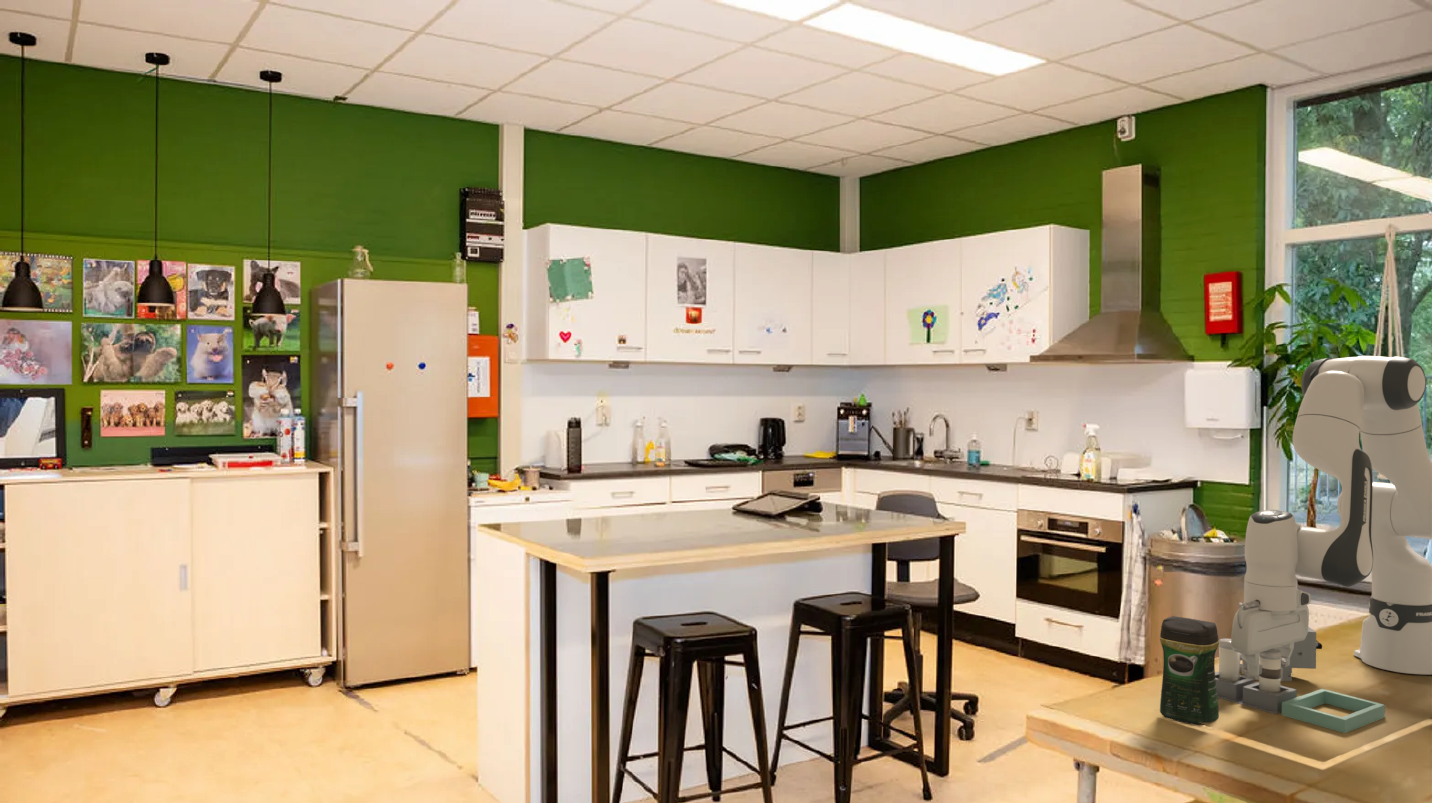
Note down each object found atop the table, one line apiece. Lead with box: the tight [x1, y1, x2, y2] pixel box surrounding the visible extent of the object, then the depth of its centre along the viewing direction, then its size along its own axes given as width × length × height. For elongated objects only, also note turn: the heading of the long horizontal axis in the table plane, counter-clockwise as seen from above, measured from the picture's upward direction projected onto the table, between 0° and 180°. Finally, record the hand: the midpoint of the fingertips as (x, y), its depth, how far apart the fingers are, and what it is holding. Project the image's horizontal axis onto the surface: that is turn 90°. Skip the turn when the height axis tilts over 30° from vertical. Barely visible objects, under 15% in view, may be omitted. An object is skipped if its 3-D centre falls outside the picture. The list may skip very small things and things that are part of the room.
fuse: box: [1218, 638, 1241, 683], centre depth 200 cm, size 4×4×10 cm
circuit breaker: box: [1238, 602, 1323, 682], centre depth 211 cm, size 8×14×15 cm, turn 78°
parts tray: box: [1281, 688, 1386, 734], centre depth 187 cm, size 14×11×3 cm
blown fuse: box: [1258, 649, 1282, 694], centre depth 193 cm, size 4×4×10 cm
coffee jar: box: [1159, 615, 1220, 726], centre depth 189 cm, size 10×8×19 cm
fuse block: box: [1215, 671, 1298, 715], centre depth 197 cm, size 9×15×4 cm, turn 32°
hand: (1269, 670), depth 193 cm, fingers open, 8 cm apart
